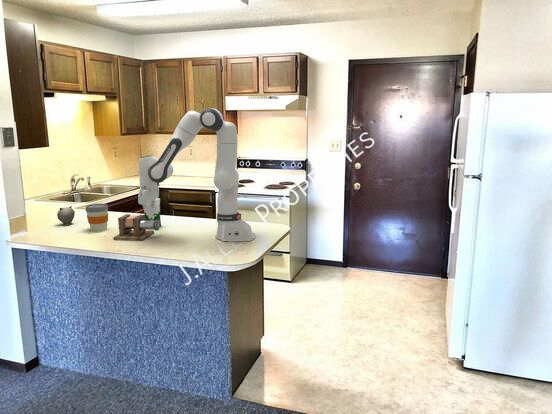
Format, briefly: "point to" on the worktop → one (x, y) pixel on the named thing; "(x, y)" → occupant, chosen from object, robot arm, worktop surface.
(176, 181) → the worktop surface
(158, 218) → the milk carton
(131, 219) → the spacer
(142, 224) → the shaft
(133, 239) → the bearing block
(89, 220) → the reusable coffee cup
